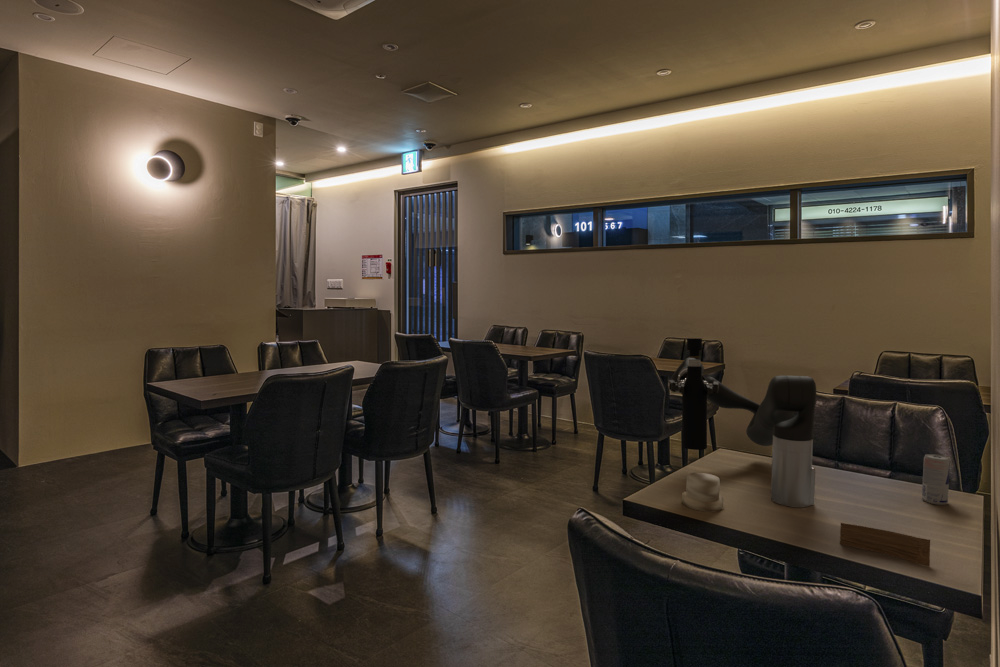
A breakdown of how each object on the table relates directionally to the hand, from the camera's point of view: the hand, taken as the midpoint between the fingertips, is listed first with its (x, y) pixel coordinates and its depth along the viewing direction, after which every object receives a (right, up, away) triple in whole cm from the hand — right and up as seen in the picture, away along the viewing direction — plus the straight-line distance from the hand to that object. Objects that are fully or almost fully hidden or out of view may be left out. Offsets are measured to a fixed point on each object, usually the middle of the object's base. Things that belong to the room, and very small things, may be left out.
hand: (695, 390), depth 147 cm
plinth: (0, -29, -5) cm, 29 cm away
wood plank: (+27, -31, -33) cm, 53 cm away
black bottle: (+1, -16, +4) cm, 17 cm away
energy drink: (+62, -29, -2) cm, 69 cm away
